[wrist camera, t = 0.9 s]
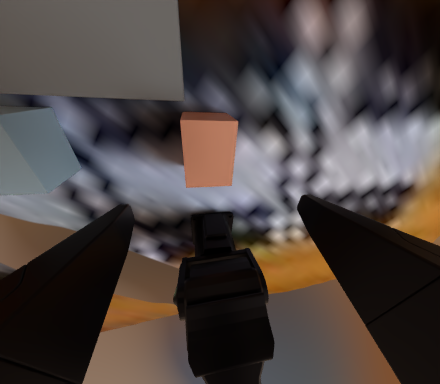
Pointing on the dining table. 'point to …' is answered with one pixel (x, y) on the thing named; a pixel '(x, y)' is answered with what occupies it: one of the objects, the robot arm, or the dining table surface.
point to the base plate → (91, 49)
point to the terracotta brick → (208, 148)
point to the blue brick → (33, 151)
